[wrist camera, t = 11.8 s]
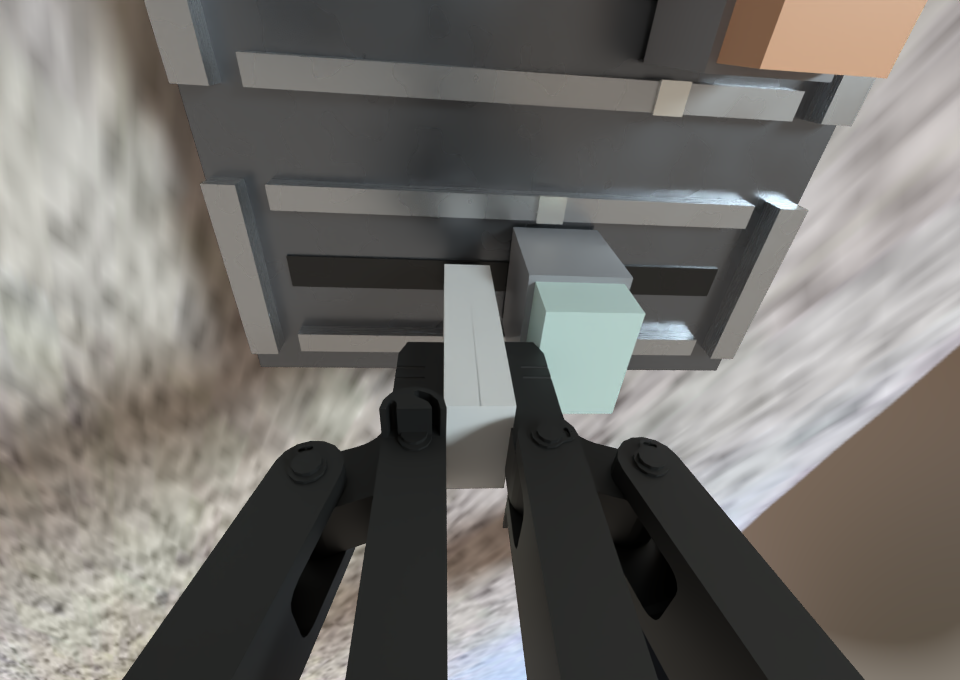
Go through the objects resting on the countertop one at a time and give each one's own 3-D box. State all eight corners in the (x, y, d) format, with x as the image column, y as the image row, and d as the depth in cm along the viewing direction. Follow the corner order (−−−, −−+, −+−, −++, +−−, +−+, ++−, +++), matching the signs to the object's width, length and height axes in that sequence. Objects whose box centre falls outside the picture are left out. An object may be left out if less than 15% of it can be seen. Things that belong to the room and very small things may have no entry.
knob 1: (513, 227, 15) (539, 304, 11) (597, 230, 15) (655, 307, 11) (502, 323, 17) (520, 418, 13) (575, 324, 18) (616, 418, 13)
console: (99, -349, 9) (-13, -471, 7) (944, -226, 11) (1074, -293, 9) (276, 338, 20) (254, 379, 17) (695, 344, 21) (725, 381, 19)
